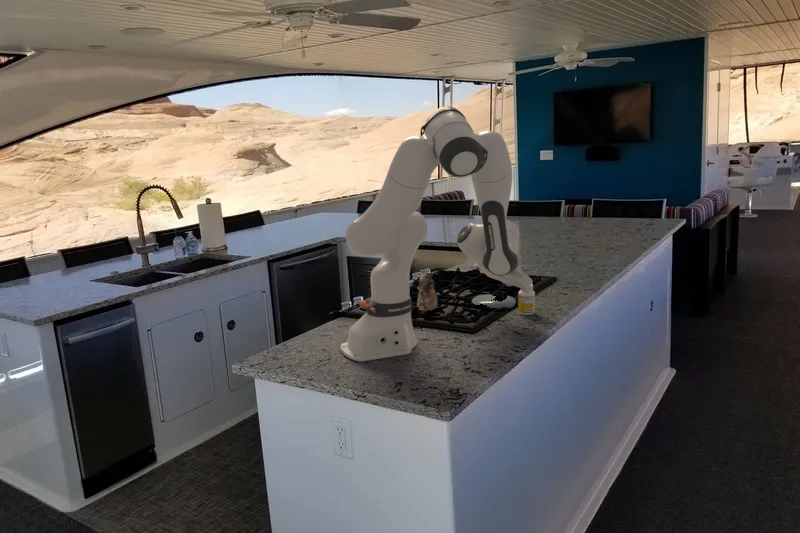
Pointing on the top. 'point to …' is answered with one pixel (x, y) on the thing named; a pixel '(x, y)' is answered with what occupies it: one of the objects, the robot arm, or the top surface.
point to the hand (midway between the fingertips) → (519, 287)
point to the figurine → (426, 293)
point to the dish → (487, 298)
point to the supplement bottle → (526, 302)
